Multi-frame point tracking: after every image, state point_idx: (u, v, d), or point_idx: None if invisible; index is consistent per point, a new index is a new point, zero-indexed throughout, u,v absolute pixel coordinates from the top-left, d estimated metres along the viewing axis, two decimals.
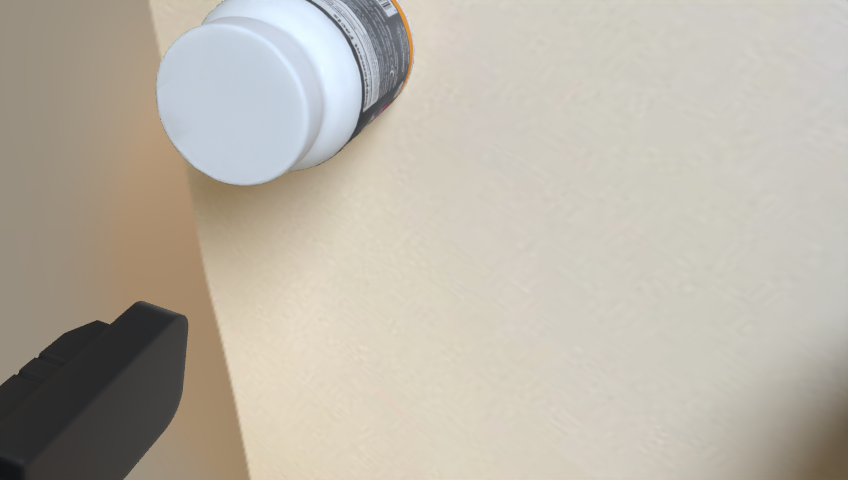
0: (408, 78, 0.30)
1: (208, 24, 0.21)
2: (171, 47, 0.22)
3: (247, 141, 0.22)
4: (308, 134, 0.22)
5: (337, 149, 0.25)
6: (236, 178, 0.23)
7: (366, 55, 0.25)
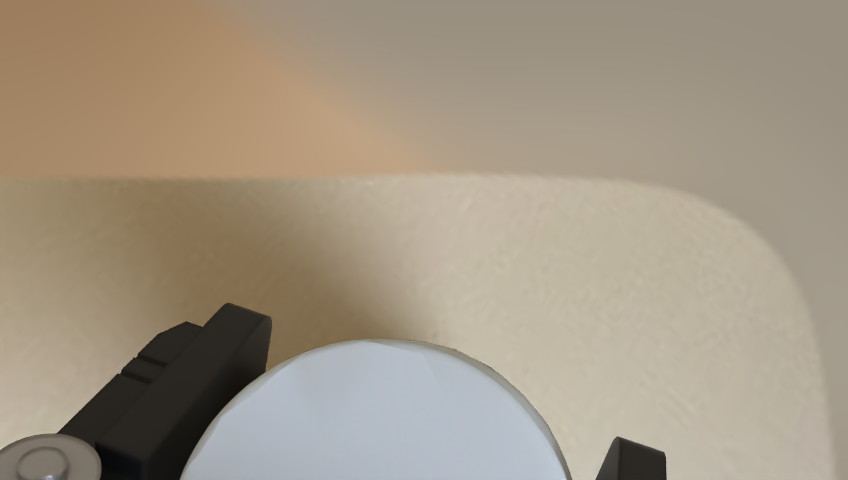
0: None
1: None
2: (523, 412, 0.09)
3: None
4: None
5: None
6: None
7: None
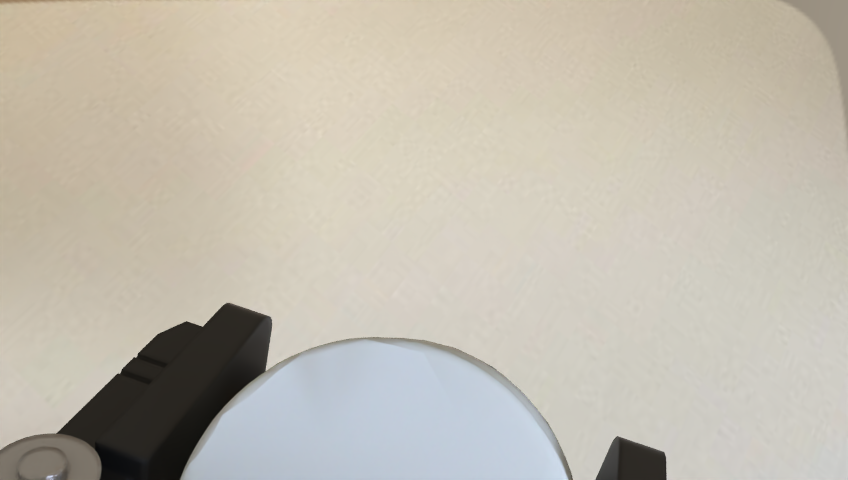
0: None
1: None
2: (523, 411, 0.09)
3: None
4: None
5: None
6: None
7: None
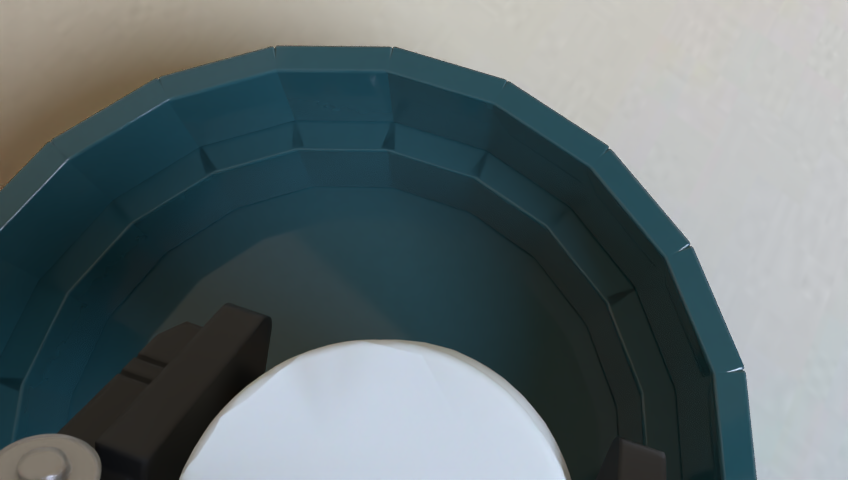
0: None
1: None
2: (522, 413, 0.09)
3: None
4: None
5: None
6: None
7: None
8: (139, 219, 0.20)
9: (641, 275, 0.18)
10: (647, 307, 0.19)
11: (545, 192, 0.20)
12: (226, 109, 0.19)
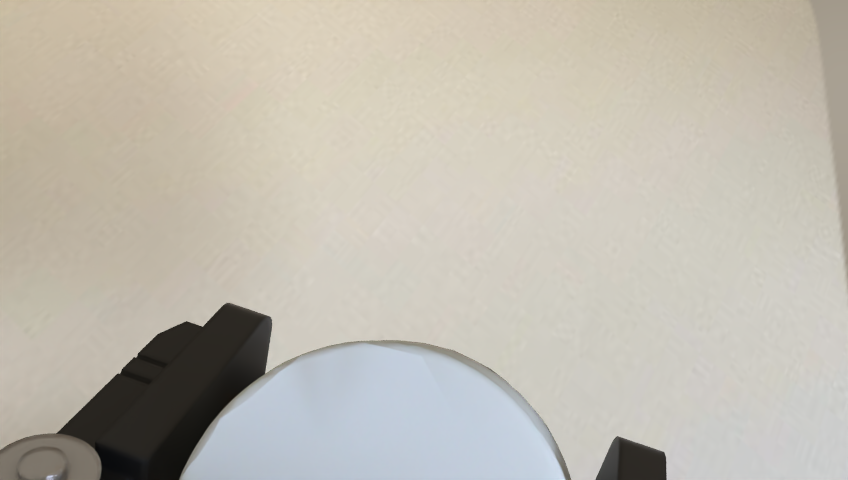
0: None
1: None
2: (522, 414, 0.09)
3: None
4: None
5: None
6: None
7: None
8: None
9: None
10: None
11: None
12: None
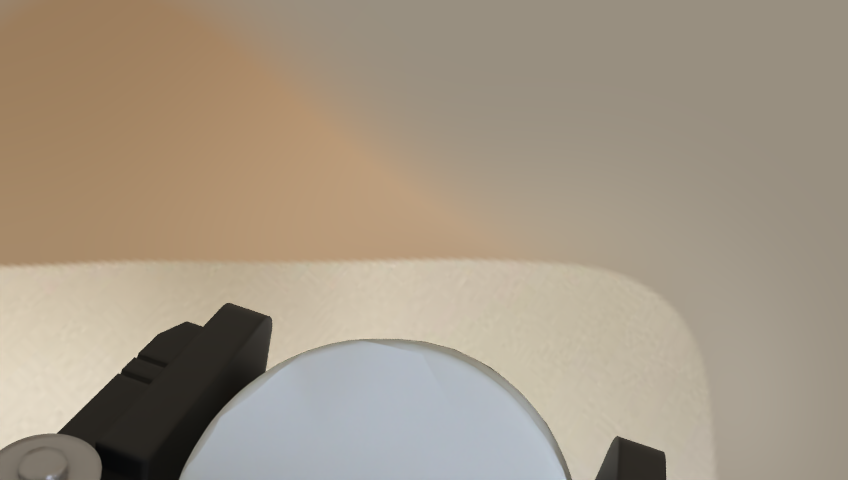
0: None
1: None
2: (522, 413, 0.09)
3: None
4: None
5: None
6: None
7: None
8: None
9: None
10: None
11: None
12: None
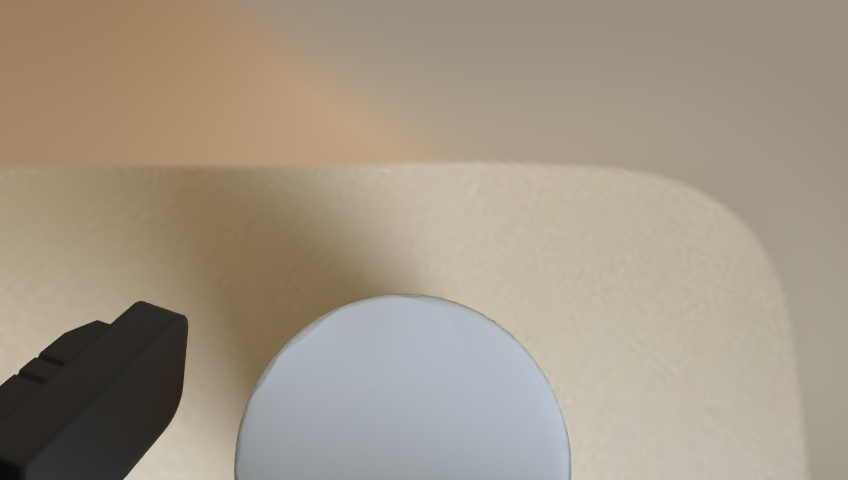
0: None
1: (567, 439, 0.11)
2: (523, 352, 0.11)
3: None
4: None
5: None
6: (252, 445, 0.11)
7: None
8: None
9: None
10: None
11: None
12: None
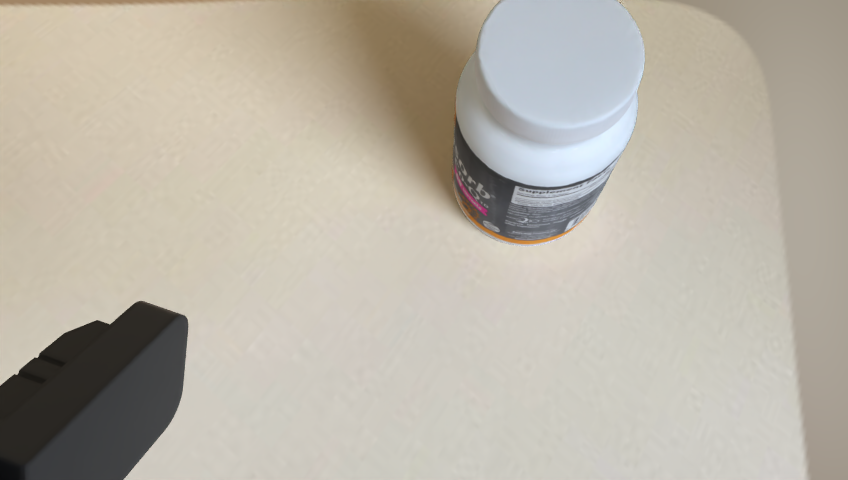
0: (493, 237, 0.30)
1: None
2: (620, 4, 0.22)
3: (526, 62, 0.22)
4: (534, 126, 0.21)
5: (482, 155, 0.24)
6: (486, 45, 0.22)
7: (566, 195, 0.25)
8: None
9: None
10: None
11: None
12: None
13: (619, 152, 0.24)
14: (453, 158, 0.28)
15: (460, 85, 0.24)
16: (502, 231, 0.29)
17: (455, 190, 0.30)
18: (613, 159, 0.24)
